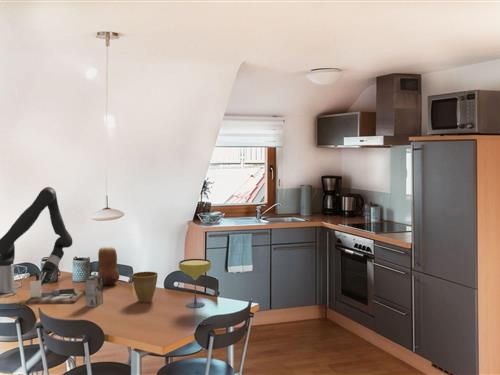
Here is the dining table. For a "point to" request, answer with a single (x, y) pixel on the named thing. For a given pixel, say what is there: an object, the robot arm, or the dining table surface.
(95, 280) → the coffee box
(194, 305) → the cocktail glass
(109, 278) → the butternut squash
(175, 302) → the dining table surface
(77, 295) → the board
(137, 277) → the plant pot
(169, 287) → the dining table surface
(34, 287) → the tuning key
